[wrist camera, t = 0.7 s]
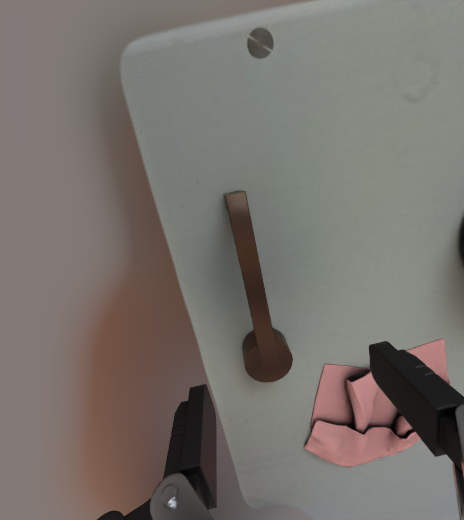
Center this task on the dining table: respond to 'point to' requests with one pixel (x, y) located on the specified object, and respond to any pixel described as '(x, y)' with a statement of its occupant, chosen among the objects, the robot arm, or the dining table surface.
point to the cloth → (363, 413)
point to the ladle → (256, 300)
